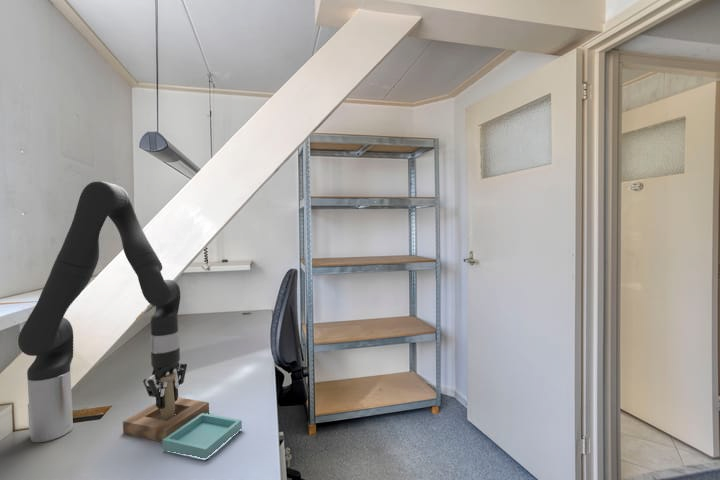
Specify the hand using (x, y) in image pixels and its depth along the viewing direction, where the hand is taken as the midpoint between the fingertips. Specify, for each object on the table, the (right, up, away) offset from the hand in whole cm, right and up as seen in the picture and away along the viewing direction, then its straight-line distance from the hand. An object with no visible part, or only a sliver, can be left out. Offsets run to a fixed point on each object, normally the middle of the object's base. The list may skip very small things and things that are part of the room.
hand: (167, 404), depth 106 cm
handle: (0, -6, 0) cm, 6 cm away
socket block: (0, -6, 0) cm, 6 cm away
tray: (+15, -6, -9) cm, 18 cm away
